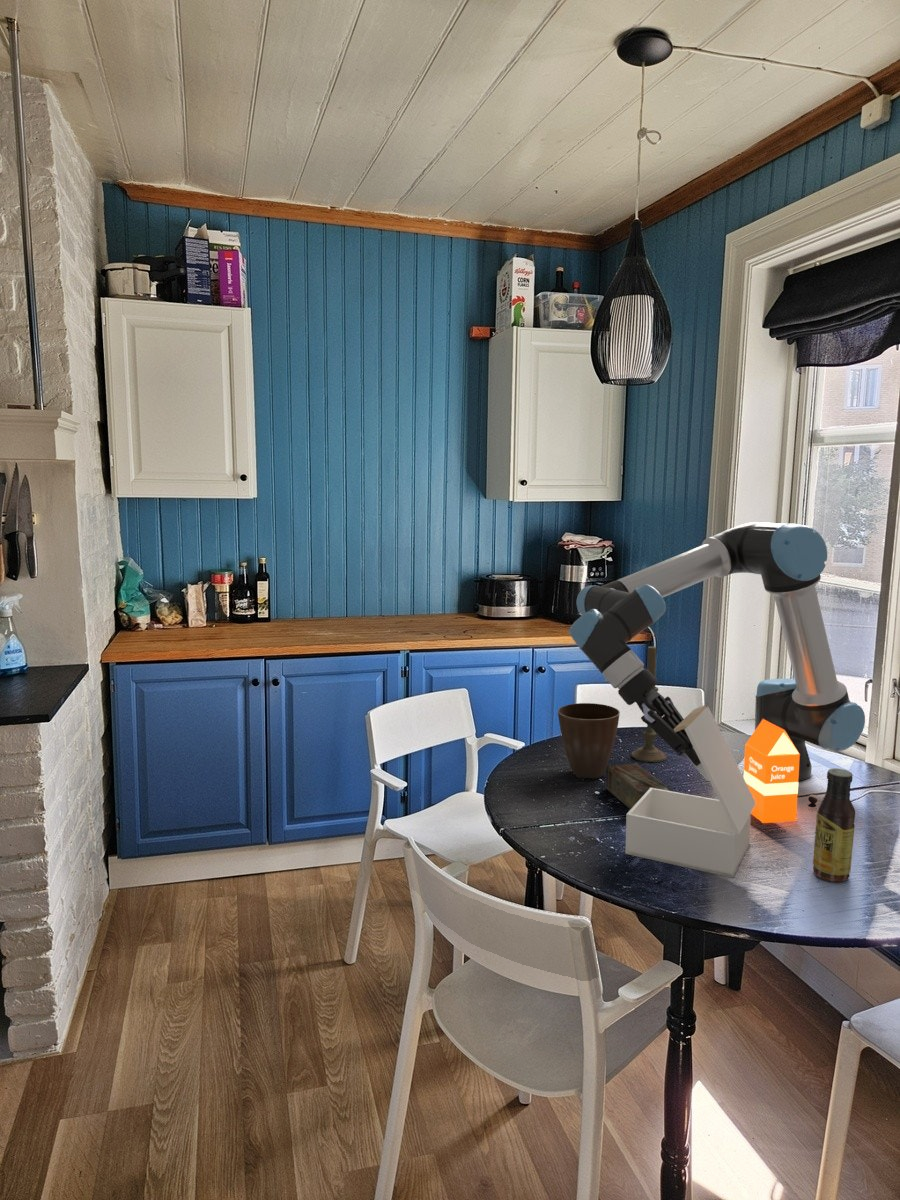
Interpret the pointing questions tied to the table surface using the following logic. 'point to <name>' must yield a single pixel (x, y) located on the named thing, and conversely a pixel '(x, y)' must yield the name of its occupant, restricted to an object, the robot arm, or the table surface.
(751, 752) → the orange juice
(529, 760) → the table surface
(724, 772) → the mailer lid
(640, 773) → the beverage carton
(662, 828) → the box
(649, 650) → the candlestick holder
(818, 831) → the sauce bottle
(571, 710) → the plant pot
